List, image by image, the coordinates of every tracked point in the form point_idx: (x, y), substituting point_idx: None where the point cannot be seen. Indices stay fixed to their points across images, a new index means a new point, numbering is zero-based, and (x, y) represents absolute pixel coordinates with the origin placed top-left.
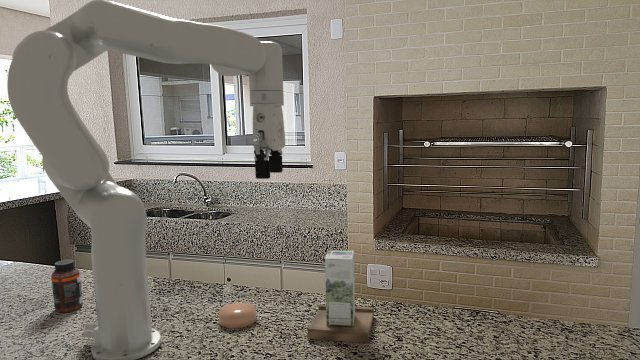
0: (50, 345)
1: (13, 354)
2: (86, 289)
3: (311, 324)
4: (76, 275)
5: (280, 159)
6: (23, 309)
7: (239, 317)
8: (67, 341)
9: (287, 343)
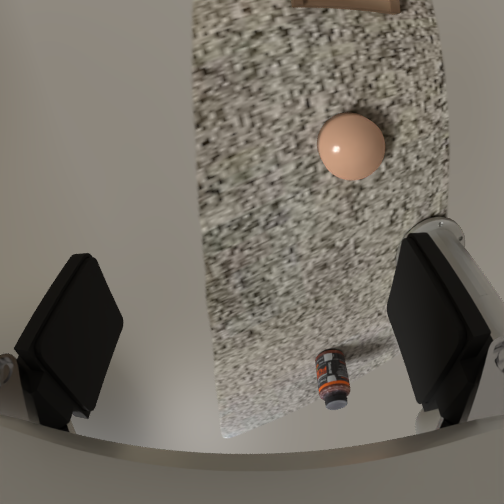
0: None
1: None
2: (273, 371)
3: (372, 9)
4: (336, 383)
5: (51, 331)
6: None
7: (381, 135)
8: None
9: (412, 43)
